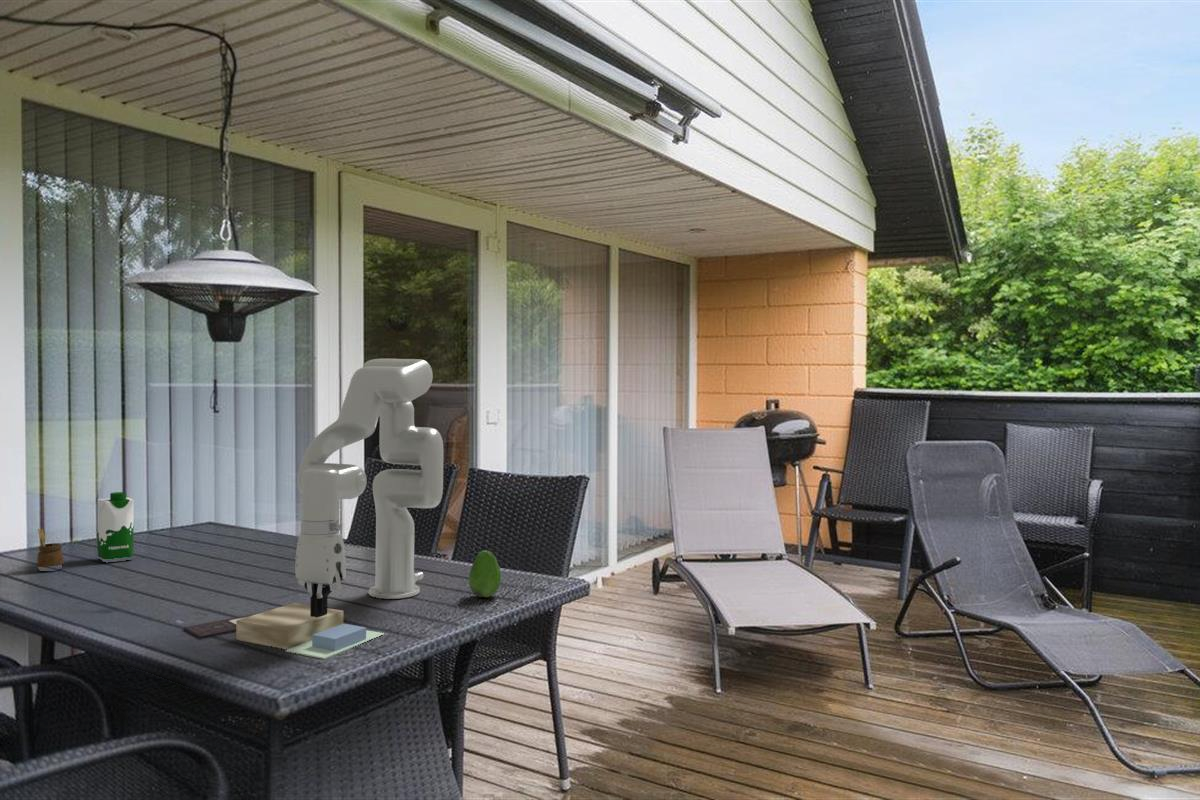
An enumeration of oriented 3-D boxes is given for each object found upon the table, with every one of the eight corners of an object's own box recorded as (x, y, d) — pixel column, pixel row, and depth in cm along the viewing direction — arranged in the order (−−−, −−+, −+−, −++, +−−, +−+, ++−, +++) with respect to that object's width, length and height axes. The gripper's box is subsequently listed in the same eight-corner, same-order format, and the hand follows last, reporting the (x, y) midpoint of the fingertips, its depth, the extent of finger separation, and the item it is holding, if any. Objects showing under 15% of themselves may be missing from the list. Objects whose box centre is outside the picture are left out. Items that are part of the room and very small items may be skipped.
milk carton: (103, 564, 238) (103, 495, 238) (93, 559, 244) (94, 491, 244) (136, 560, 244) (137, 492, 244) (126, 555, 251) (127, 489, 250)
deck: (294, 620, 187) (294, 602, 186) (343, 629, 181) (343, 610, 181) (236, 639, 172) (236, 620, 172) (287, 649, 166) (287, 629, 166)
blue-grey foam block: (366, 627, 173) (366, 639, 173) (343, 623, 176) (343, 634, 176) (335, 639, 165) (334, 651, 165) (312, 634, 167) (312, 646, 168)
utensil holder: (68, 568, 232) (68, 525, 232) (48, 573, 226) (48, 529, 226) (51, 567, 234) (51, 524, 234) (30, 572, 228) (31, 528, 227)
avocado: (487, 602, 205) (487, 554, 205) (462, 598, 209) (463, 550, 209) (507, 596, 212) (507, 549, 212) (482, 591, 216) (483, 545, 216)
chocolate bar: (183, 627, 178) (265, 611, 191) (183, 631, 178) (265, 616, 191) (200, 636, 172) (284, 619, 185) (200, 641, 172) (284, 624, 185)
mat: (348, 628, 181) (348, 626, 181) (385, 634, 177) (385, 633, 177) (285, 651, 165) (285, 650, 165) (324, 659, 161) (324, 657, 161)
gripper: (360, 528, 173) (359, 616, 173) (306, 521, 179) (304, 606, 180) (335, 533, 166) (333, 625, 167) (279, 527, 173) (278, 615, 173)
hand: (318, 615), depth 173 cm, fingers closed
